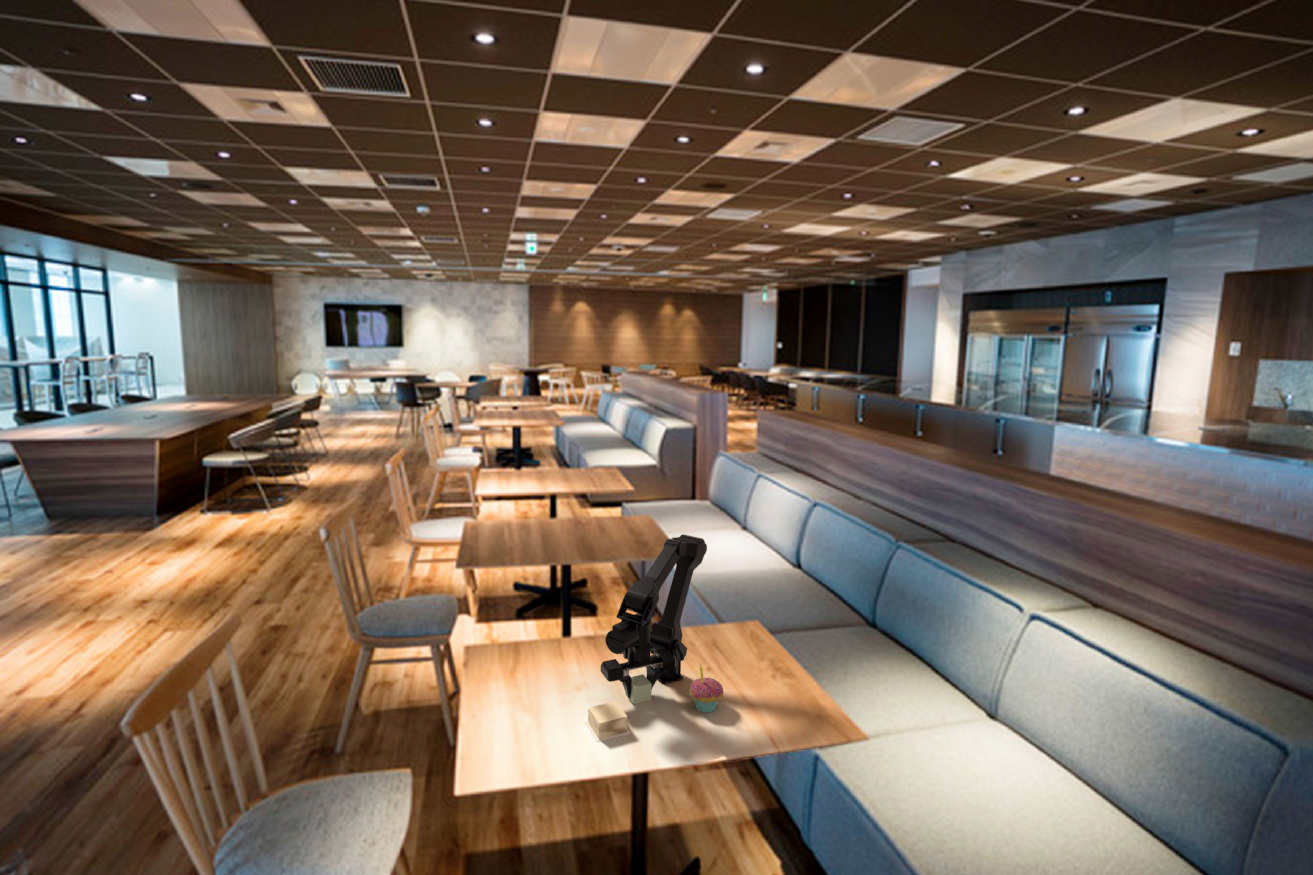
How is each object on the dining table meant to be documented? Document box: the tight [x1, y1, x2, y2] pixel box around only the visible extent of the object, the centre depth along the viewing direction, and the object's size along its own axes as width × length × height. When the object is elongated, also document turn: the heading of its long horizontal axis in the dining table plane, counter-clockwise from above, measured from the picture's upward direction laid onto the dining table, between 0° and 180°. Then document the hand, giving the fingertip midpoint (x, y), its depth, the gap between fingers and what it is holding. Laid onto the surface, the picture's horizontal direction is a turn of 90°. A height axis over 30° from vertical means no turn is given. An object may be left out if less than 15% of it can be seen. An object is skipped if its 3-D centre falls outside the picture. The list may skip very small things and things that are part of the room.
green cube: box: [624, 674, 653, 705], centre depth 168 cm, size 5×5×5 cm
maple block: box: [587, 700, 628, 739], centre depth 155 cm, size 7×7×4 cm
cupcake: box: [688, 663, 725, 713], centre depth 165 cm, size 9×8×12 cm
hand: (638, 695), depth 169 cm, fingers closed on green cube, 5 cm apart
